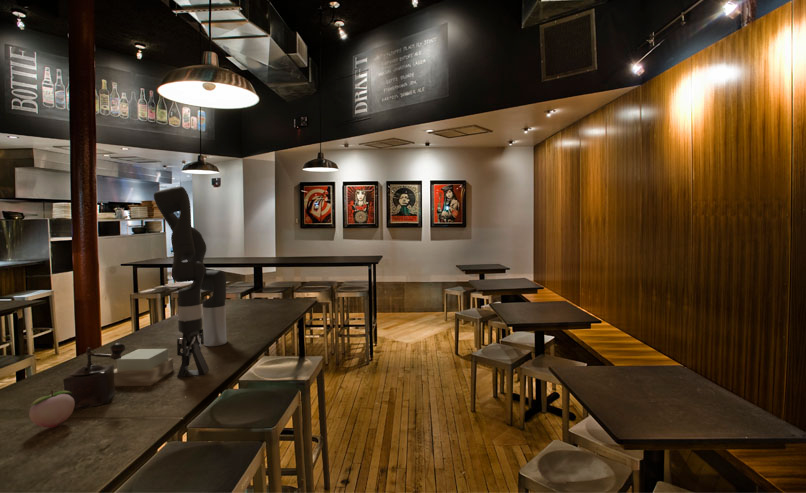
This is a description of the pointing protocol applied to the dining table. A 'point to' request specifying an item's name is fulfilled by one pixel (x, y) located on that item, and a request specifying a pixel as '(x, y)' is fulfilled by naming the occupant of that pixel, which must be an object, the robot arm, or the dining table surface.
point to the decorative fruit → (52, 409)
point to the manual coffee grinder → (93, 380)
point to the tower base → (143, 375)
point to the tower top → (142, 359)
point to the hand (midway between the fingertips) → (191, 361)
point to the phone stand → (199, 362)
